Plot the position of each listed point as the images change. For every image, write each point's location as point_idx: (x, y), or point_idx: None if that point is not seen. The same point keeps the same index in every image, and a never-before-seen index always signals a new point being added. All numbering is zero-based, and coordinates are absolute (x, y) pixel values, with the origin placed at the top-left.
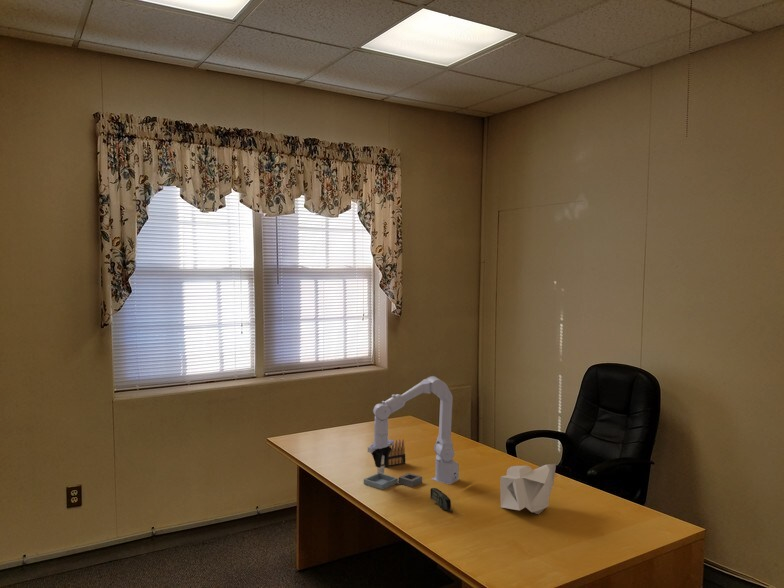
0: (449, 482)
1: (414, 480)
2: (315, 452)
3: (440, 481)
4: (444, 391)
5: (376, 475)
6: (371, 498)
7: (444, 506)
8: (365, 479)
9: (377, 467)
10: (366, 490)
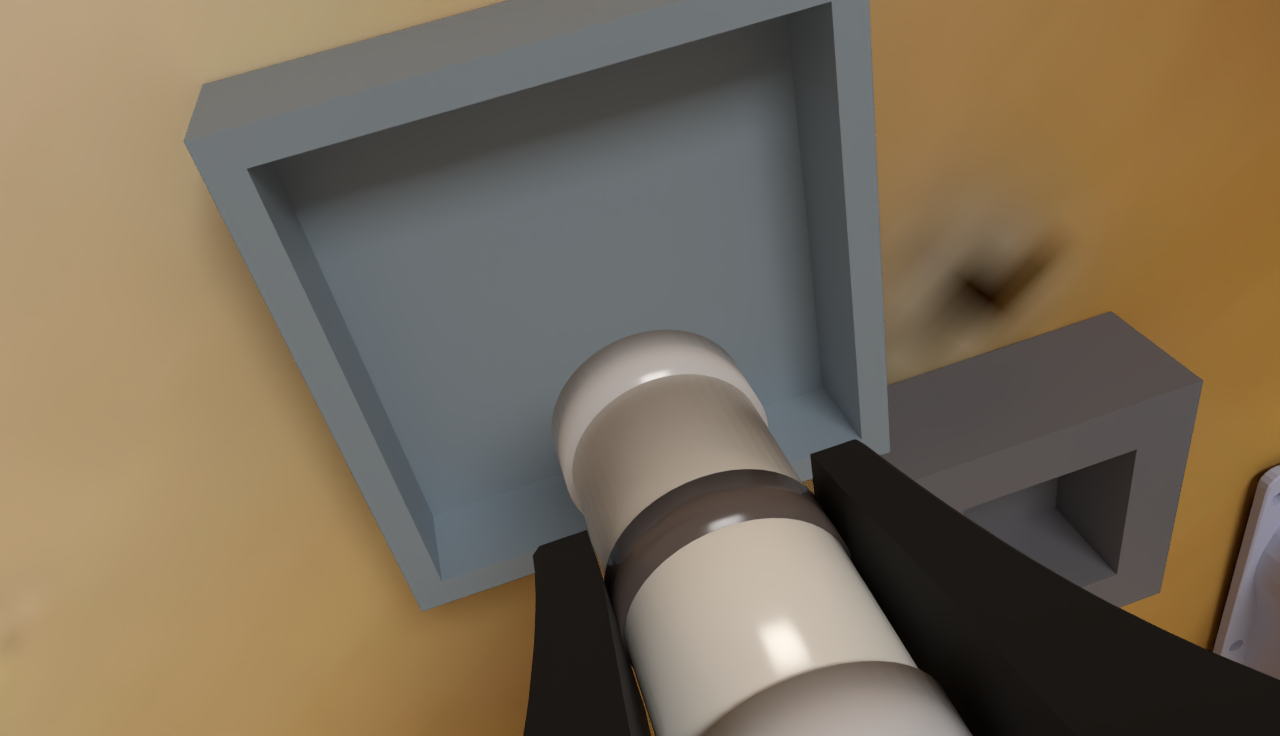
0: (1251, 663)
1: None
2: None
3: (1247, 585)
4: None
5: (701, 27)
6: (63, 701)
7: None
8: (226, 190)
9: (601, 499)
10: (128, 386)
